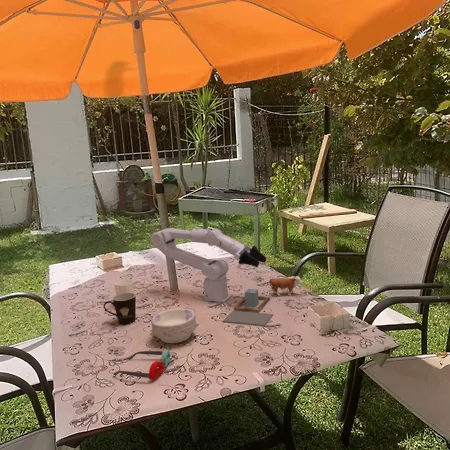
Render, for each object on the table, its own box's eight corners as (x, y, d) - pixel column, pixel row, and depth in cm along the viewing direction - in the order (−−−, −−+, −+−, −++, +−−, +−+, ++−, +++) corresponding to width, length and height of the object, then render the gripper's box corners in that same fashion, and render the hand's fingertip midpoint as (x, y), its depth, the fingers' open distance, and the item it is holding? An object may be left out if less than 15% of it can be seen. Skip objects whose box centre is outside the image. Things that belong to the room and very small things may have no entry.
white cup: (139, 303, 197) (137, 281, 195) (124, 309, 192) (121, 286, 190) (128, 300, 203) (126, 278, 201) (113, 306, 197) (110, 283, 195)
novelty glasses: (156, 384, 134) (155, 368, 133) (110, 380, 138) (108, 365, 137) (174, 361, 147) (173, 346, 146) (131, 358, 151) (129, 343, 150)
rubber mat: (222, 322, 172) (222, 320, 172) (233, 311, 181) (233, 310, 181) (264, 326, 166) (264, 324, 166) (273, 315, 175) (272, 314, 175)
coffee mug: (142, 317, 182) (139, 293, 180) (131, 326, 174) (128, 301, 172) (116, 315, 186) (113, 291, 184) (104, 324, 178) (101, 299, 176)
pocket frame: (234, 310, 182) (233, 307, 182) (246, 297, 195) (246, 295, 194) (258, 312, 178) (258, 309, 178) (269, 299, 191) (269, 296, 191)
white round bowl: (148, 334, 166) (146, 313, 165) (189, 325, 172) (187, 304, 171) (160, 352, 153) (157, 329, 151) (203, 340, 158) (201, 318, 157)
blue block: (245, 306, 186) (244, 292, 184) (249, 302, 189) (248, 288, 188) (255, 307, 184) (254, 292, 183) (258, 303, 188) (257, 289, 186)
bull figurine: (302, 296, 192) (301, 277, 190) (269, 296, 194) (268, 277, 193) (303, 292, 196) (302, 274, 194) (270, 292, 199) (269, 274, 197)
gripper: (228, 241, 180) (258, 257, 176) (243, 235, 193) (272, 249, 189) (222, 257, 183) (252, 273, 178) (237, 250, 196) (265, 265, 191)
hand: (262, 262), depth 184 cm, fingers open, 7 cm apart
